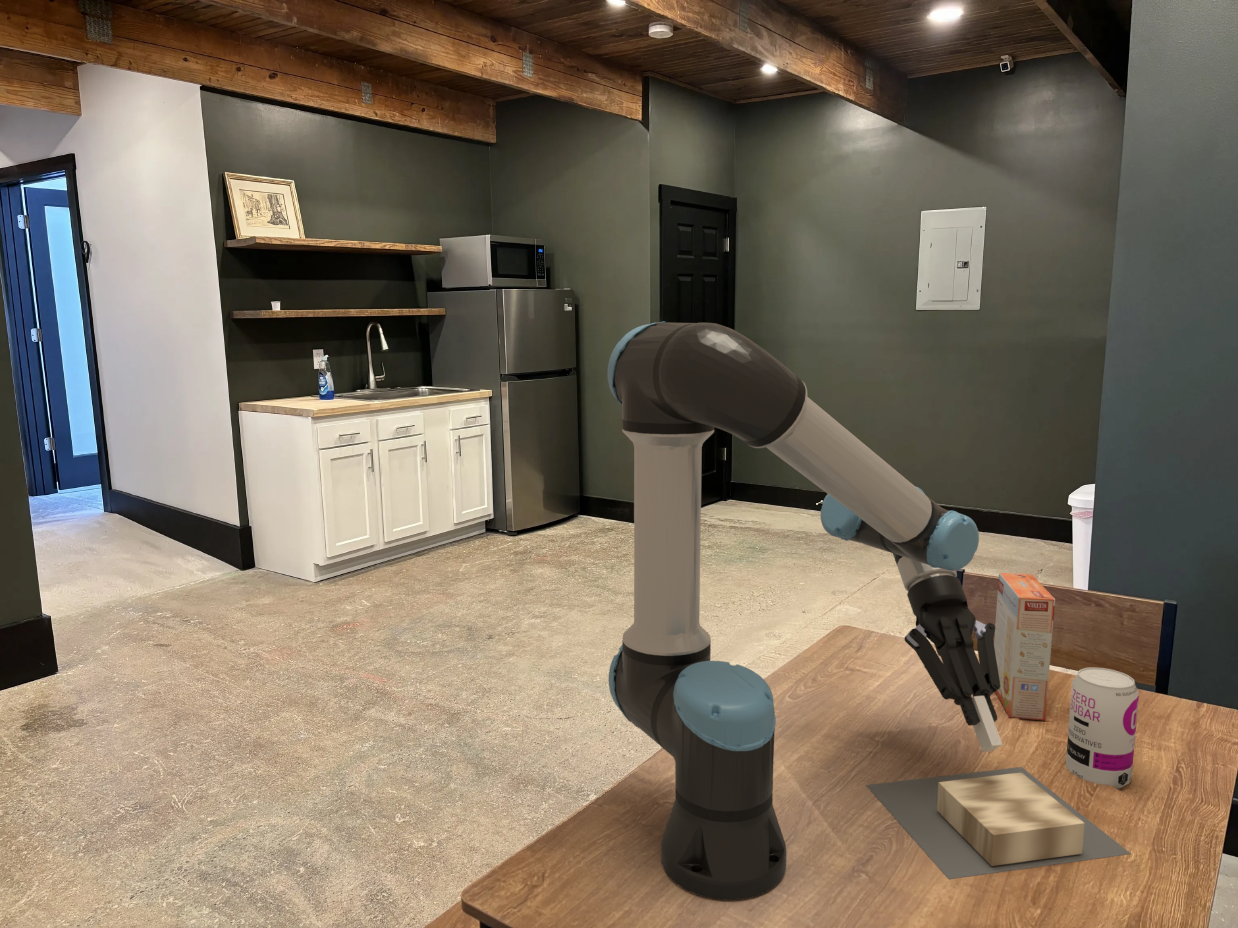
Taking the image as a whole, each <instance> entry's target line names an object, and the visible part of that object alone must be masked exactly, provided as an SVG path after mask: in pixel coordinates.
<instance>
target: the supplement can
mask: <svg viewBox="0 0 1238 928" xmlns="http://www.w3.org/2000/svg"><path fill="white" fill-rule="evenodd" d="M1139 699H1140V693H1139V689H1138V688H1137V686H1136V683H1135V679H1134V678H1133V677H1131V676H1130V675H1128V674H1127V673H1124V672H1122V671H1118V670H1115V669H1112V668H1111V669H1110V668H1104V667H1097V666H1096V667H1094V666H1093V667H1085V668H1081V669H1079V671H1077V674H1076V676H1075V677H1074V678H1073V679H1072V680H1071V693H1070V705H1069V715H1068V718H1069V719H1068V729H1067V730H1068V731H1067V741H1066V742H1067V744H1066V753H1065V755H1066V756H1065V767H1066V769H1067V770H1068V771H1069V772H1070V773H1071V774H1073V775H1074V776H1076V777H1078V778H1079V779H1082V780H1084V781H1087V782H1090V783H1093V784H1098V785H1102V786H1103V785H1104V786H1111V787H1113V788H1115V789H1116V790H1119V789H1121V788H1124V787H1125V786H1127V785H1129V784H1130V782H1131V781H1132V776H1133V765H1134V764H1133V763H1134V756H1135V755H1134V754H1135V753H1134V752H1135V745H1136V744H1135V742H1136V733H1137V723H1138V722H1137V720H1138V711H1139V710H1138V709H1139V702H1140V701H1139Z"/></svg>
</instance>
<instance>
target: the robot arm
mask: <svg viewBox="0 0 1238 928" xmlns="http://www.w3.org/2000/svg"><path fill="white" fill-rule="evenodd" d="M607 382H608V383H607V384H608V385H609V386H608V387H609V389H610V392H611V394H612V396H613V397H614V399H615V400H616V401H617V403H619V405H621V418H622V419H621V429H622V430H621V432H622V433H624V435H626V437H628V439H629V440H630V441H631V442H632V444H633V448H634V450H633V451H634V452H633V456H634V459H633V460H634V461H633V468H634V469H633V470H634V471H633V473H634V474H633V476H634V477H633V483H634V484H633V485H634V486H633V487H634V488H633V491H634V492H633V494H634V495H633V506H634V507H633V521H634V522H633V523H634V524H633V527H634V528H633V549H634V550H633V623H632V624H631V625H630V627H628V628H627V629H626V630H624V632H623V633H622V640H621V641H622V644H621V645H620V646H619V648H618V652H617V654H614V656H613V657H612V660H611V662H610V666H609V671H608V688H609V693H610V696H611V698H612V700H613V702H614V704H615V706H616V707H617V708H618V710H619V711H620V712H621V713H622V715H623V716H624V717H625V718H626V720H627V721H628V722H630V723H632V724H633V725H634V727H636V728H638V729H640V730H641V731H642V732H643V733H644V734H646V736H648V737H649V738H651V739H652V740H653V741H654V742H655V743H656V744H657V745H659V746H660V747H661V748H662V749H663V750H664V751H665V752H667V753H668V754H669V755H671V757H672V758H673V760H674V768H675V769H674V772H675V774H674V775H675V777H674V778H675V779H674V780H675V782H674V786H675V787H674V789H675V796H674V797H675V798H674V801H673V805H672V807H671V810H670V813H669V816H668V819H667V822H666V825H665V827H664V831H663V833H662V835H661V841H660V842H661V843H660V858H661V859H660V860H661V861H660V862H661V865H662V868H663V871H664V873H665V874H666V875H667V876H668V878H669V879H670V880H672V882H673V883H675V885H677V886H679V887H680V888H682V889H684V890H686V891H688V892H690V893H692V894H695V895H697V896H699V897H700V896H701V897H703V898H708V899H714V900H720V901H721V900H723V901H735V900H738V901H739V900H745V899H750V898H754V897H758V896H761V895H763V894H765V893H768V892H769V891H771V890H772V889H773V888H775V887H777V885H779V883H780V882H781V881H782V880H783V878H784V876H785V874H786V872H787V871H786V870H787V845H786V841H785V839H784V835H783V832H782V829H781V825H780V823H779V820H778V817H777V815H776V814H777V813H776V811H775V808H774V804H773V789H774V787H773V786H774V763H775V762H774V759H775V758H774V757H775V756H774V755H775V732H776V731H775V730H776V728H775V727H776V722H777V720H776V717H777V716H776V714H775V702H774V695H773V692H772V690H771V687H770V686H769V684H768V683H767V681H766V679H764V678H763V677H762V676H761V675H759V674H758V673H757V672H755V671H754V670H752V669H750V668H748V667H746V666H744V665H741V664H739V663H738V664H733V665H732V664H730V661H729V662H728V661H723V660H711V653H712V652H711V651H712V650H711V642H712V639H711V634H709V632H708V631H706V629H704V628H703V626H701V624H700V604H701V603H700V600H701V598H700V595H701V593H700V592H701V582H700V581H701V525H702V523H701V520H702V518H701V517H702V455H703V454H702V453H703V451H702V449H703V448H702V447H703V444H704V443H705V442H706V440H708V439H709V438H710V437H711V436H712V435H713V434H714V433H715V428H716V429H720V430H721V431H724V432H727V433H729V434H731V435H733V436H735V437H737V438H739V439H740V440H741V441H742V442H744V443H745V444H747V445H748V446H749V447H752V448H754V449H764V448H767V450H769V451H770V452H772V453H773V454H774V455H776V456H777V457H778V458H780V460H782V461H783V462H785V463H786V464H788V465H789V466H790V467H792V468H793V469H794V470H795V471H797V472H798V473H799V474H801V475H803V476H804V477H805V478H806V479H808V481H810V482H812V483H813V484H814V485H816V486H817V487H818V488H819V489H820V490H822V491H823V492H825V493H826V495H825V497H824V499H823V501H822V505H821V509H820V522H821V526H822V528H823V530H824V531H826V533H827V534H828V535H830V536H832V537H835V538H838V539H840V540H843V541H846V542H847V541H849V542H850V541H852V542H855V543H858V544H862V545H865V546H869V547H873V548H875V549H878V550H881V551H884V552H887V553H891V554H892V556H893V559H894V562H895V564H896V567H897V569H898V572H899V575H900V578H901V581H902V583H903V587H904V589H905V590H906V591H907V593H906V596H907V598H908V602H909V605H910V608H911V610H912V613H913V615H914V616H915V627H914V628H912V629H910V631H909V632H908V633H907V634H906V635H905V636H904V638H903V639H904V641H905V643H906V644H908V646H909V647H910V648H911V649H912V650H913V651H914V652H916V655H917V656H918V658H919V659H920V661H921V663H922V665H923V667H924V668H925V670H926V671H927V672H926V673H928V675H929V677H930V678H931V679H932V681H933V683H934V686H935V687H936V688H937V690H938V692H939V694H940V695H941V697H942V698H943V699H944V700H953V703H954V704H955V705H956V706H960V710H961V712H962V714H963V718H964V720H965V723H966V724H967V725H968V726H972V727H973V730H974V732H975V736H976V739H977V740H978V743H979V747H980V749H981V752H982V753H988V752H994V751H995V750H997V749H998V748H1000V747H1001V746H1003V744H1004V743H1002V738H1001V736H1000V734H999V731H998V728H997V726H996V723H995V722H997V721H998V715H997V713H996V709H995V707H994V705H993V701H992V699H991V696H992V695H993V694H994V693H996V691H997V690H998V689H1000V680H999V673H998V667H997V661H996V654H995V648H994V637H995V625H996V624H993V623H992V622H988V623H987V624H985V623H982V622H981V621H979V620H977V619H976V616H975V614H973V612H972V611H971V610H970V609H969V606H968V599H967V596H966V593H965V591H964V589H963V586H962V583H961V581H960V579H959V578H957V577H958V573H957V571H959V570H961V569H963V568H965V567H967V566H968V564H970V563H971V561H972V560H973V559H974V556H975V553H976V552H977V550H978V548H979V543H980V534H979V528H978V527H977V524H976V522H975V521H974V520H973V519H972V518H971V517H969V516H967V515H965V514H962V513H959V512H957V510H956V511H955V510H953V509H952V510H948V509H945V508H943V507H941V506H940V505H939V504H937V503H936V502H935V501H934V500H933V499H931V498H930V497H929V496H927V494H925V492H924V491H923V490H922V489H921V488H920V487H918V486H915V485H914V484H913V483H912V482H910V481H909V480H908V479H906V477H905V476H903V475H902V474H901V473H899V472H898V471H897V470H896V469H895V468H894V467H893V466H891V465H890V464H889V463H887V462H886V461H885V460H884V459H883V458H882V457H880V455H878V454H877V453H876V452H874V450H872V449H871V448H870V447H868V446H867V445H866V444H865V443H864V442H862V441H861V440H860V439H858V437H857V436H855V435H854V434H853V433H852V432H850V431H849V430H848V429H847V428H846V427H844V426H843V425H842V424H840V423H839V422H838V421H837V419H835V418H834V417H832V416H831V414H829V413H828V412H826V411H825V410H824V409H823V408H821V407H820V406H819V405H818V404H817V403H816V402H814V401H813V400H812V399H811V398H810V397H808V389H807V385H806V383H805V382H804V381H803V380H802V379H801V378H800V377H799V376H797V375H796V374H795V373H794V372H792V371H791V370H790V369H789V368H788V367H787V366H785V365H784V364H783V362H780V361H779V360H778V359H777V358H776V357H774V356H773V355H772V354H771V353H769V352H768V351H767V350H765V349H764V348H762V347H761V346H760V345H758V344H757V343H755V342H754V341H752V340H751V339H750V338H748V337H747V336H745V335H744V334H741V333H740V332H738V331H736V330H734V329H732V328H730V327H727V326H724V325H722V324H718V323H715V322H714V323H713V322H697V323H696V322H695V323H694V322H670V321H660V322H653V323H648V324H643V325H640V326H638V327H635V328H634V329H631V330H630V331H628V332H627V333H626V334H624V336H623V337H622V338H621V339H620V340H619V341H618V342H617V343H616V345H615V347H614V348H613V350H612V352H611V354H610V356H609V361H608V365H607ZM973 633H974V639H976V647H977V654H976V652H975V649H974V641H973V637H972V635H973ZM931 642H932V643H933V644H934V647H935V648H934V647H933V645H932V644H931Z"/></svg>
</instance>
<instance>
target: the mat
mask: <svg viewBox="0 0 1238 928" xmlns="http://www.w3.org/2000/svg"><path fill="white" fill-rule="evenodd" d="M1021 772H1022V773H1023V774H1024V775H1025V776H1027V777H1028V778H1029V779H1030V780H1031V781H1033V782H1034V783H1035V784H1036V785H1038V786H1039V787H1040V788H1041V789H1043V790H1044V791H1045V792H1046V793H1048V794H1049V795H1050V796H1051V797H1053V798H1054V799H1055V800H1056V801H1058V802H1059V803H1060V804H1061V805H1063V806H1064V807H1065V808H1066V809H1068V810H1069V811H1070V812H1071V813H1073V814H1074V815H1075V816H1076V817H1078V818H1079V819H1080V820H1081V821H1083V822H1084V823H1085V825H1084V837H1083V849H1082V854H1076V855H1069V856H1061V857H1054V858H1047V859H1040V860H1032V861H1025V862H1018V863H1011V864H1003V865H996V866H991V865H990V864H989V863H988V862H987V861H986V860H985V859H984V858H983V857H982V856H981V855H980V854H979V853H978V852H977V851H976V850H975V849H974V848H973V847H972V846H971V845H970V844H969V843H968V842H967V841H966V840H965V839H964V838H963V837H962V836H961V834H960V833H959V832H958V831H957V830H956V829H955V828H954V827H953V826H952V825H951V824H950V823H949V822H948V821H947V820H946V819H945V818H944V817H943V816H942V815H941V814H940V813H939V812H938V811H937V800H938V782H945V781H953V780H962V779H970V778H979V777H987V776H996V775H1004V774H1013V773H1021ZM865 786H866V788H867V789H868V790H869V791H870V792H871V793H872V795H874V797H875V798H876V799H877V800H878V801H879V803H880V804H881V805H882V806H884V807H885V809H886V810H887V811H888V813H890V815H891V816H892V817H893V818H894V819H895V820H896V821H897V823H898V824H899V825H900V827H902V828H903V830H904V831H906V833H907V834H908V835H909V836H910V837H911V838H912V840H913V841H914V842H915V843H916V844H917V846H918V847H919V848H920V849H921V850H922V851H923V852H924V853H925V854H926V856H927V857H928V858H929V859H930V860H931V861H932V862H933V863H934V865H936V866H937V868H938V869H939V871H941V873H942V874H943V875H944V876H945V877H946V878H947V880H955V879H962V878H969V877H975V876H983V875H990V874H997V873H998V874H999V873H1005V872H1012V871H1018V870H1019V871H1020V870H1027V869H1033V868H1041V867H1047V866H1056V865H1061V864H1063V865H1064V864H1071V863H1076V862H1082V861H1083V862H1084V861H1090V860H1098V859H1103V858H1104V859H1105V858H1111V857H1112V858H1113V857H1120V856H1125V855H1132V853H1131V852H1130V851H1129V850H1127V849H1126V848H1125V847H1124V846H1122V845H1121V844H1120V843H1119V842H1117V841H1116V840H1114V838H1112V837H1111V836H1109V834H1107V833H1106V832H1105V831H1103V830H1102V829H1101V828H1100V827H1098V826H1097V825H1096V824H1094V823H1093V822H1092V821H1091V820H1089V819H1088V818H1087V817H1086V816H1084V815H1083V814H1081V812H1080V811H1078V810H1077V809H1075V808H1074V807H1073V806H1072V805H1070V804H1069V803H1068V802H1067V801H1065V800H1064V799H1063V798H1061V797H1060V795H1058V794H1056V793H1055V792H1054V791H1052V789H1050V788H1049V787H1048V786H1046V785H1045V784H1044V783H1042V782H1041V781H1040V780H1039V779H1037V778H1036V777H1035V776H1033V774H1032V773H1030V772H1029V771H1027V769H1025V768H1024V767H1022V766H1018V767H1017V766H1015V767H1009V768H1001V769H1000V768H999V769H993V770H992V769H991V770H985V771H983V770H982V771H975V772H966V773H957V774H949V775H939V776H931V777H923V778H916V779H915V778H914V779H907V780H906V779H905V780H898V781H888V782H881V783H880V782H879V783H874V784H873V783H871V784H866V785H865Z"/></svg>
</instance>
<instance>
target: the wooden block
mask: <svg viewBox="0 0 1238 928" xmlns="http://www.w3.org/2000/svg"><path fill="white" fill-rule="evenodd" d="M937 811H938V812H939V813H940V814H941V815H942V816H943V817H944V818H945V819H946V820H947V821H948V822H949V823H950V824H951V825H952V826H953V827H954V828H955V829H956V830H957V831H958V832H959V833H960V834H961V836H962V837H963V838H964V839H965V840H966V841H967V842H968V843H969V844H970V845H971V846H972V847H973V848H974V849H975V850H976V851H977V852H978V853H979V854H980V855H981V856H982V857H983V858H984V859H985V860H986V861H987V862H988V863H989V864H990V865H991V866H996V865H1003V864H1011V863H1018V862H1025V861H1032V860H1040V859H1047V858H1054V857H1061V856H1069V855H1076V854H1082V849H1083V837H1084V825H1085V823H1084V822H1083V821H1081V820H1080V819H1079V818H1078V817H1076V816H1075V815H1074V814H1073V813H1071V812H1070V811H1069V810H1068V809H1066V808H1065V807H1064V806H1063V805H1061V804H1060V803H1059V802H1058V801H1056V800H1055V799H1054V798H1053V797H1051V796H1050V795H1049V794H1048V793H1046V792H1045V791H1044V790H1043V789H1041V788H1040V787H1039V786H1038V785H1036V784H1035V783H1034V782H1033V781H1031V780H1030V779H1029V778H1028V777H1027V776H1025V775H1024V774H1023V773H1022V772H1021V773H1013V774H1004V775H996V776H987V777H979V778H970V779H962V780H953V781H945V782H938V800H937Z"/></svg>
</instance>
